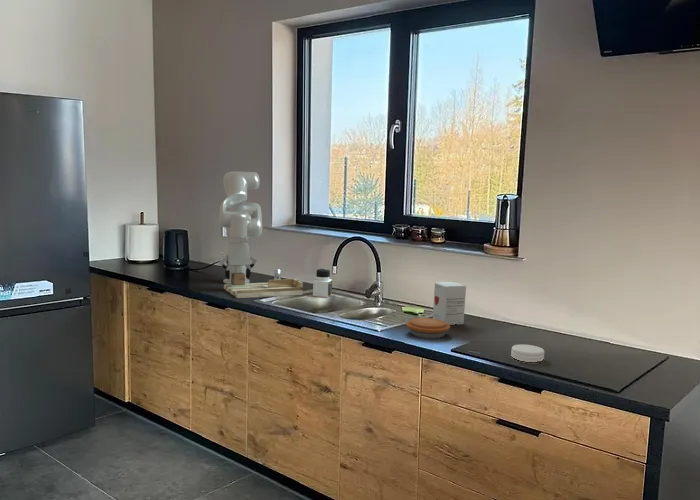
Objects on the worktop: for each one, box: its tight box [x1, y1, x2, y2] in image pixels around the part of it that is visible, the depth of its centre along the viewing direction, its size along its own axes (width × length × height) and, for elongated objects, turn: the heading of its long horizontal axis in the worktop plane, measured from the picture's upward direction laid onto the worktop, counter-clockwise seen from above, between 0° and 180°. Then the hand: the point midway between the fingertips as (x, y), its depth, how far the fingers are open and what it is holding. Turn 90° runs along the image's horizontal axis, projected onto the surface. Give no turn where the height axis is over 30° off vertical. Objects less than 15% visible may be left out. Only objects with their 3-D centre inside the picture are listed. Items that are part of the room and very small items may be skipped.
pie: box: [405, 317, 451, 339], centre depth 218 cm, size 15×16×5 cm
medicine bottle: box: [312, 268, 333, 298], centre depth 279 cm, size 7×7×12 cm
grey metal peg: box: [273, 268, 282, 280], centre depth 291 cm, size 3×3×7 cm
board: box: [223, 278, 304, 299], centre depth 282 cm, size 22×30×6 cm
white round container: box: [510, 344, 545, 363], centre depth 194 cm, size 10×10×4 cm
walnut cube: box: [231, 272, 245, 286], centre depth 283 cm, size 5×5×5 cm
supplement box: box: [432, 281, 467, 326], centre depth 237 cm, size 9×9×15 cm
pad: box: [228, 283, 247, 288], centre depth 283 cm, size 7×7×1 cm
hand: (237, 278), depth 283 cm, fingers open, 8 cm apart
